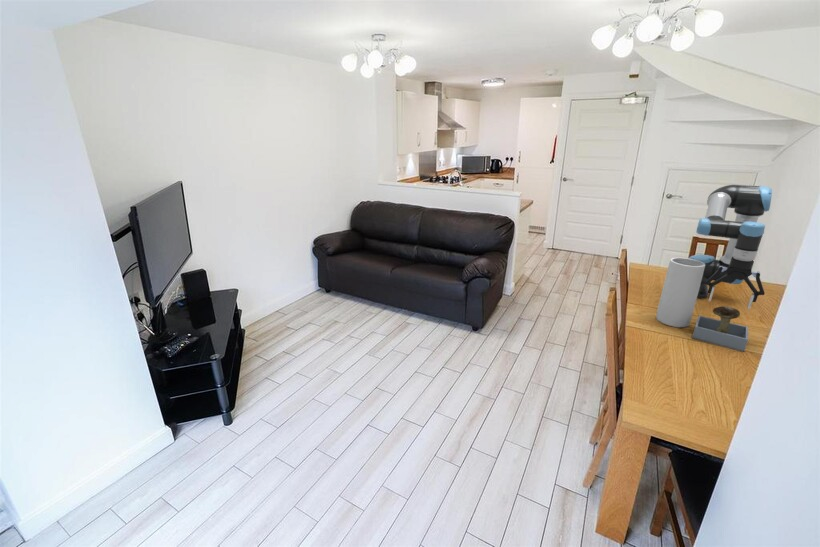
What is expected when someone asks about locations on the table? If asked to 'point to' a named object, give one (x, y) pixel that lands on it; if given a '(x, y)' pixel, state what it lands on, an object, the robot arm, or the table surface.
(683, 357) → the table surface
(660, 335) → the table surface
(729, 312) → the mushroom
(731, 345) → the bin
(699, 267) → the vase
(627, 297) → the table surface
